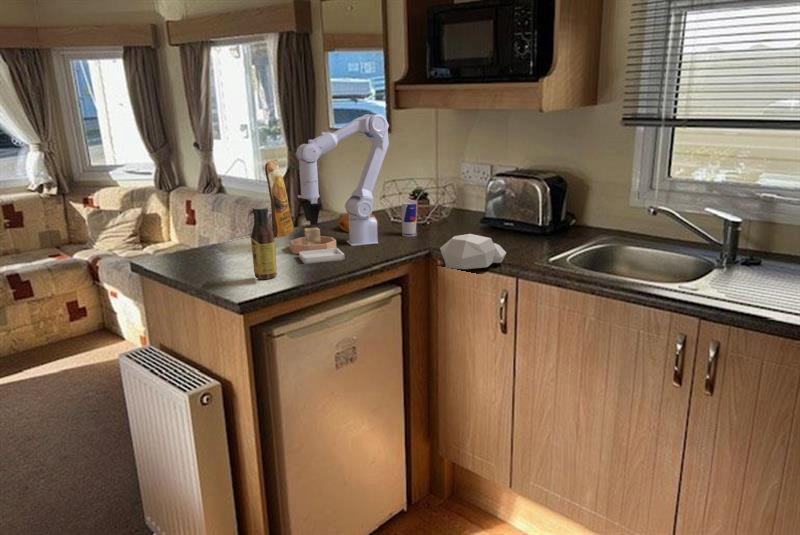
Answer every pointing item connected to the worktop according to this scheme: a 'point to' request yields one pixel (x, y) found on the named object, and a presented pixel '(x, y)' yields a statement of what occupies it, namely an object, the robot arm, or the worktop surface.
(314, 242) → the beech peg
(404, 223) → the energy drink
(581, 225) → the worktop surface
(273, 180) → the pancake mix bag
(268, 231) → the sauce bottle
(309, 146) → the robot arm
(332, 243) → the pinkish-brown octagonal ring
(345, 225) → the croissant
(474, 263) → the rock
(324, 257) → the tray
